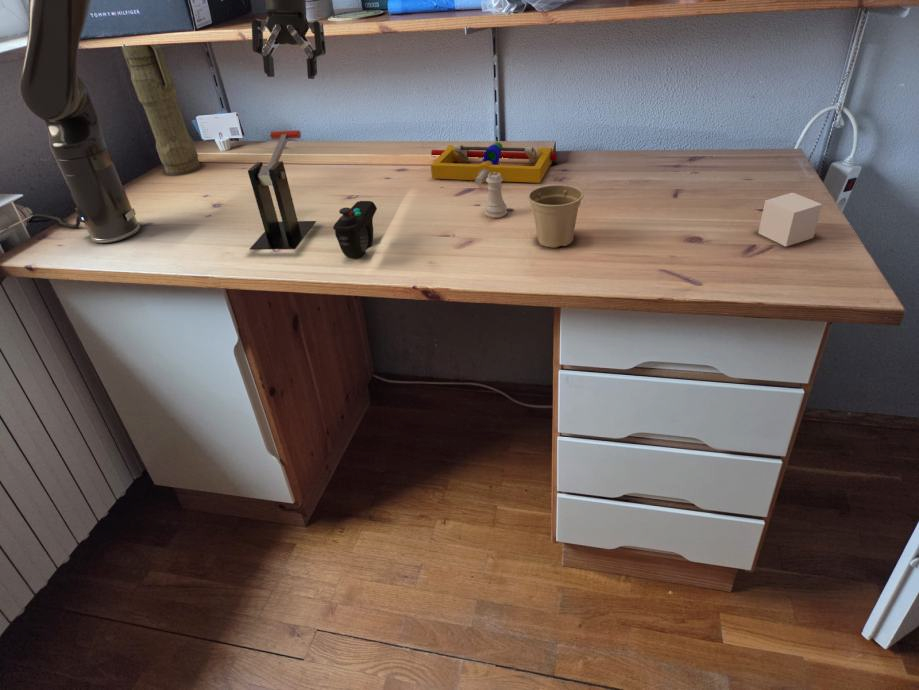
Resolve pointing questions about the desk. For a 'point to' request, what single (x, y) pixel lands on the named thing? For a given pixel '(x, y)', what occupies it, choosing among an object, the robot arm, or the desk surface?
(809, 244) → the desk surface
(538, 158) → the mechanical clamp
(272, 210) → the bracket
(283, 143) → the lever
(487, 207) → the rook chess piece
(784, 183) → the desk surface
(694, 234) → the desk surface
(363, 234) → the controller
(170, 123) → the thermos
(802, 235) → the beige cube
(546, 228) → the flower pot
